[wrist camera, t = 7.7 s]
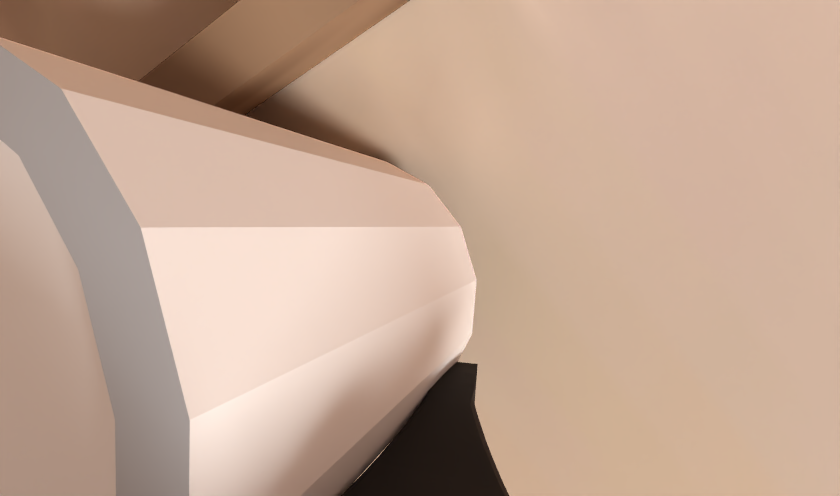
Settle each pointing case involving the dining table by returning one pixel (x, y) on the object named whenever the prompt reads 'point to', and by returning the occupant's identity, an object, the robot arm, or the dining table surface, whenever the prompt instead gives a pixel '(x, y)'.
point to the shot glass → (206, 294)
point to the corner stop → (263, 48)
